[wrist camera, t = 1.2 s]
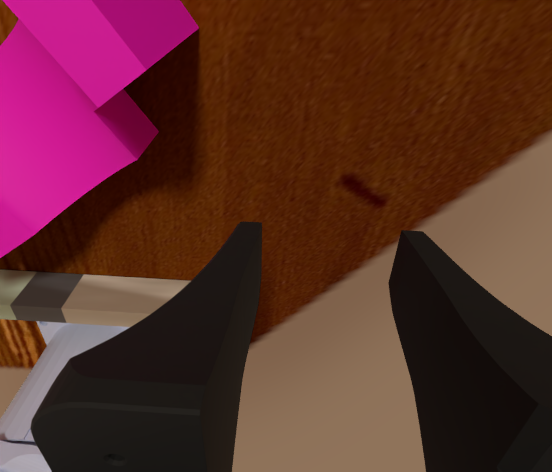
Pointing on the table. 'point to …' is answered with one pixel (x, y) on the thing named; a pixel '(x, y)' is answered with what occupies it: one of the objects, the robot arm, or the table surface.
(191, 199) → the table surface
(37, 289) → the trap lane
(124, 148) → the toy block
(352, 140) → the table surface
